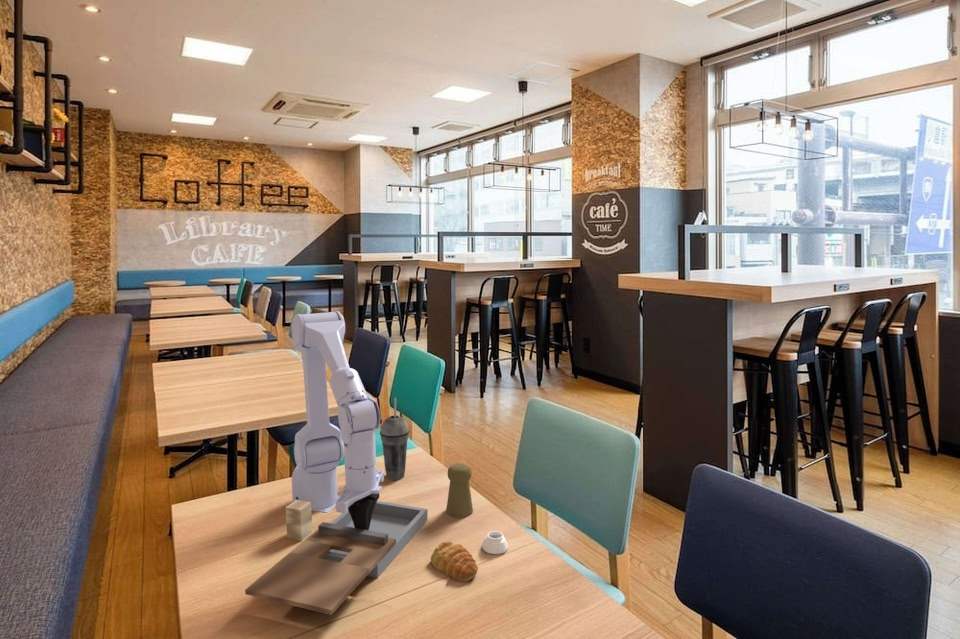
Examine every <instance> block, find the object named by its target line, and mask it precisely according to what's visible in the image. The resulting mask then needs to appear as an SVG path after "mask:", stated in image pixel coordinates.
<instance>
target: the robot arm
mask: <svg viewBox="0 0 960 639" xmlns="http://www.w3.org/2000/svg"><path fill="white" fill-rule="evenodd" d="M291 322H292V323H291V337H292V346H293V350H294V351H297V352H300V354H301V357H302V368H303V386H304V398H305V413H306V424H305V425H304V426H303V427H302V428H301V429H299V430H298V432H296V433H295V436H294V447H293V455H294V461H295V465H296V467H295V468H294V470H293V472H292V475H291V491H292V492H291V494H292V498H291V499H292V503H293V502H294V501H295V500H300V501H306V502H311V511H313V512H320V513H324V514H325V513H328V512H330V511H331V510H332V509H334V508H335V512H336V513H340V514H342V513H346V512H347V511H349V513H350V515H351V518H352V520H353V523H354V527H355V528H358V529H364V530H369V527H370V522H371V518H372V513H373V510H374V507H375V505H376V502H377V501H379V498H380V492H381V491H383V490H382V489H383V486H381V485H379V484H380V483H382V482H384V481H385V478H384V476H385V472H384V471H382V470H377V464H376V463H377V460H376V458H377V456H376V454H377V452H376V429H379V427H380V426H381V425H380V424H381V413H380V412H381V411H380V408H379V405H378V402H377V400H376V399H375V398H374V397H372V395H371V394H368V393H367V392H366V388H365V386H364V384H363V382H362V380H361V377H360V375H359V372H358V371H357V370H356V369H354V368H351V367H350V364H349V362H348V358H347V354H346V352H345V351H346V350H345V348H344V344H343V342H344V339H345V334H346V322H345V318H344V315H343V314H342V313H341V312H340V311H339V310H335V311H330V312H319V313H318V312H317V313H316V312H315V313H303V314H302V313H296V314H295V315H294V317H293V318H292V321H291ZM327 367H328V370H329V371H330V373H331V376H330V378H329V383H328V378H327ZM328 384H329V387H330V389H331V391H332V394H333V396H334V399H335V402H336V405H337V407H338V412H337V420H338V424H339V427H338V426H337V425H334V424H332V423H330V411H329V395H328ZM343 459H344V477H345V478H344V482H345V483H344V484H345V485H344V487H343V489H342V491H341V494H339V495H338V474H337V473H338V472H337V468H338V467H340V462H342V461H343Z"/></svg>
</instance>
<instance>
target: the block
mask: <svg viewBox="0 0 960 639" xmlns="http://www.w3.org/2000/svg"><path fill="white" fill-rule="evenodd" d="M312 514H313V513H312V510H311V502H306V501H300V500H295V501H294V502H293V501H292V502H291V503H289V504H288V505H287V506H286V507H285V522H286V526H285V527H286V539H291V540H295V541H300V542H303V541H304V540H305V539H306V538H308V537H309V536H310V535H311V534H312V533H313V515H312Z"/></svg>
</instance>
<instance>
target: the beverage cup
mask: <svg viewBox="0 0 960 639" xmlns="http://www.w3.org/2000/svg"><path fill="white" fill-rule="evenodd" d="M393 400H394V401H393V404H394V405H393V415H391V416H388V417H386V418H385V419H384V421H382V424H381V425H380V430H379V435H380V440H381V443H382V445H381V446H382V452H383V454H382V455H383V463H384V470H385V475H386V476H385V477H386V479H388V480H390V481H397V480H402V479H403V478H405V474H406V464H407V449H408V440H409V437H410V436H409V434H410V430H409V426H408V423H407V421H406V420H405V419H404V418H403V417H401V416H399V415H397V397H394V398H393Z"/></svg>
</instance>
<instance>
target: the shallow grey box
mask: <svg viewBox="0 0 960 639" xmlns="http://www.w3.org/2000/svg"><path fill="white" fill-rule="evenodd" d="M427 522H428V508H422V507H418V506H417V507H416V506H410V505H405V504H400V503H399V504H398V503H394V502H393V503H392V502H387V501H382V500H377V502H376V505H375V507H374V510H373V513H372V518H371V522H370V527H369V531H375V532H380V533H385V534H388V538H393V539H396V544H395V545H394V546H393V547H392V548H391V549H390V550H389V552H388V553H387V554H386V555H385V556H384V557H383V558H382V559H381V560H380V562H379V563H378V564H377V565H376V566H375V567H374V568H373V569H372V571H371V572H370V573H369V574H368V575H367V576H366V577H371V578H374V579H375V578H376V579H378V578H380V576H381V575H382V574H383V573H384V572H385V571H386V570H387V568H388V567H389V566H390V565H391V564H392V563H393V562H394V561H395V559H396V558H397V557H398V556H399V554H400V553H401V552H402V551H403V549H405V547H406V546H407V545H408V544H409V543H410V541H412V540H413V539H414V537H415V535H417V533H418V532H419V531H420V530H421V529H422V528H423V527H424V525H425V524H426V523H427ZM330 523H331V524H337V525H342V526H347V527H353V528H355V527H354V523H353V520H352V518H351V515H350V513H349V511H347V512H346V513H340V515H338V516H337V517H336V518H335V519H334V520H332V521H331V522H330ZM348 554H349V552H344V551H338V550H333V549H331V550H330V551H329V552H328V553H327V554H326V555H325V556H324V557H323V558H322V559H325V560H330V561H335V562H341V561H342V560H343V559H344V558H345V557H346V556H347V555H348Z"/></svg>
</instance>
